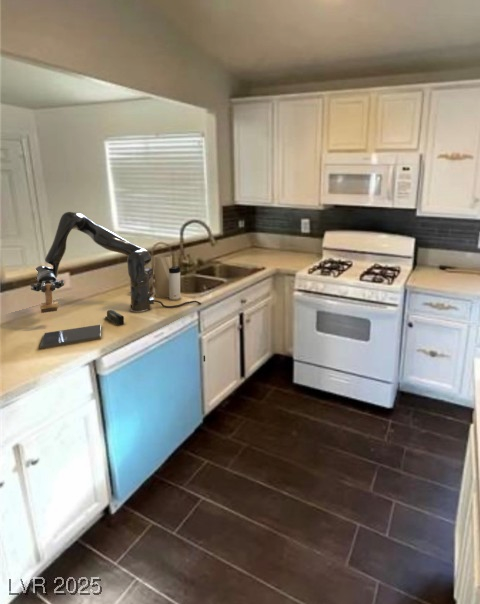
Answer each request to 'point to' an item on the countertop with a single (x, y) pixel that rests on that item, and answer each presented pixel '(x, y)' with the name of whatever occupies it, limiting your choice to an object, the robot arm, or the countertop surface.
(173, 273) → the travel mug
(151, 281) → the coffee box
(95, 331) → the slate board
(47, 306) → the brush
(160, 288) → the tall beige box
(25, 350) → the countertop surface
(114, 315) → the dark green rounded bar
